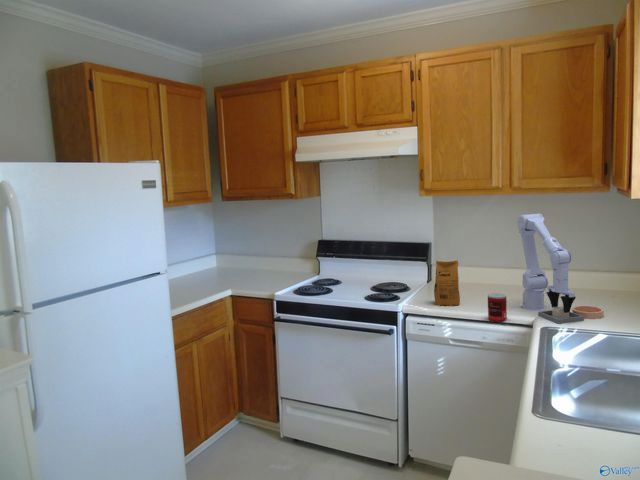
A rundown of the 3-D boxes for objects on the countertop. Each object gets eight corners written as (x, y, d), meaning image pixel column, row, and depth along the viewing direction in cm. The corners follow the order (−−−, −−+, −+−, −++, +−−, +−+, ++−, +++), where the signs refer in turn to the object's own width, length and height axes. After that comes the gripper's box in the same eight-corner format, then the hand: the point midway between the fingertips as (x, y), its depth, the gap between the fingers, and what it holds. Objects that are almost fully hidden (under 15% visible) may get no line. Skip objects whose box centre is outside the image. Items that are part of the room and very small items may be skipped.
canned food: (502, 316, 215) (501, 292, 214) (509, 321, 207) (509, 296, 206) (485, 317, 215) (484, 293, 214) (492, 322, 207) (491, 297, 206)
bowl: (566, 314, 212) (566, 307, 212) (589, 311, 215) (589, 304, 214) (585, 321, 201) (585, 314, 201) (609, 318, 203) (609, 311, 203)
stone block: (552, 317, 207) (552, 307, 206) (562, 316, 208) (562, 306, 207) (558, 320, 203) (558, 309, 203) (569, 318, 204) (569, 308, 203)
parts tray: (538, 317, 211) (538, 311, 211) (562, 314, 213) (562, 308, 213) (558, 325, 198) (558, 319, 198) (584, 322, 200) (584, 316, 200)
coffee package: (434, 301, 248) (433, 259, 246) (459, 301, 245) (458, 258, 243) (434, 306, 239) (432, 262, 236) (460, 306, 236) (459, 262, 233)
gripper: (541, 276, 210) (541, 307, 211) (563, 282, 196) (563, 315, 197) (555, 275, 211) (555, 305, 213) (579, 281, 197) (579, 313, 198)
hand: (560, 310), depth 205 cm, fingers open, 7 cm apart
